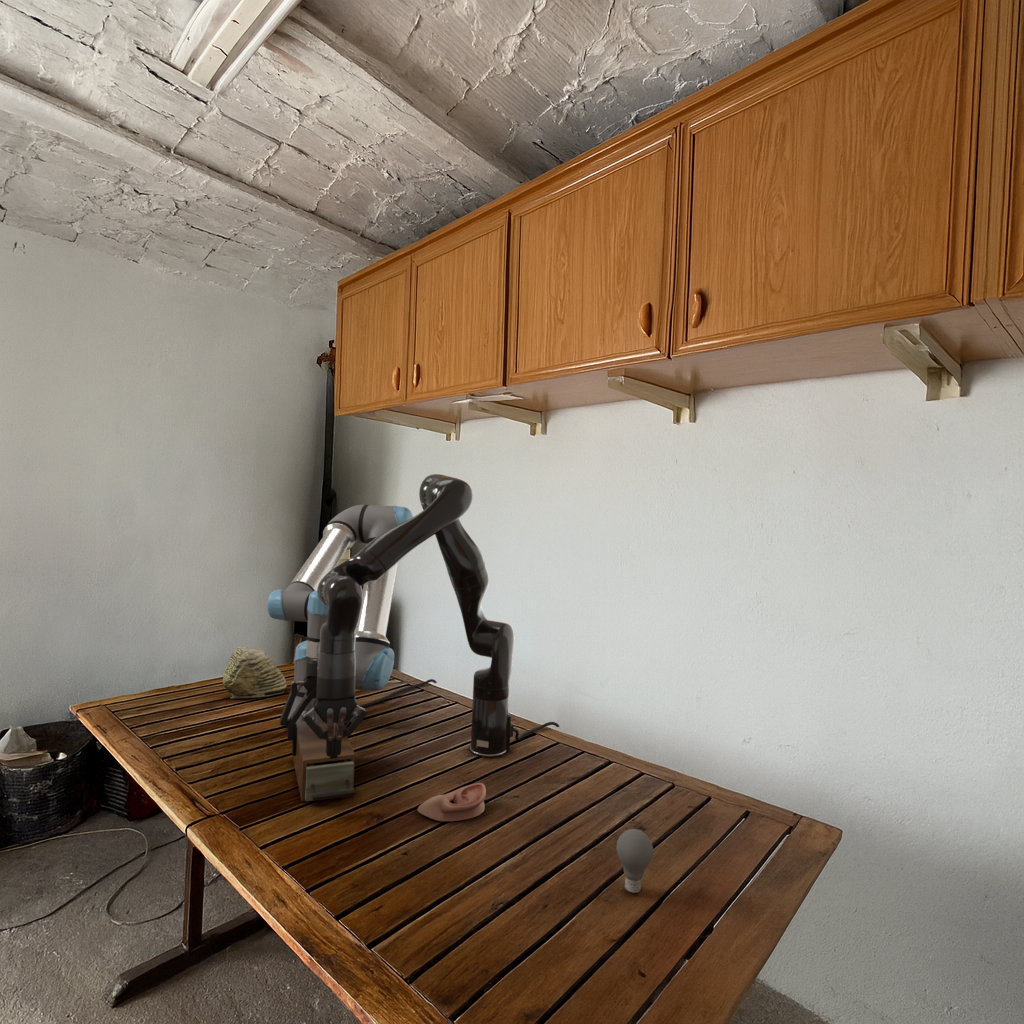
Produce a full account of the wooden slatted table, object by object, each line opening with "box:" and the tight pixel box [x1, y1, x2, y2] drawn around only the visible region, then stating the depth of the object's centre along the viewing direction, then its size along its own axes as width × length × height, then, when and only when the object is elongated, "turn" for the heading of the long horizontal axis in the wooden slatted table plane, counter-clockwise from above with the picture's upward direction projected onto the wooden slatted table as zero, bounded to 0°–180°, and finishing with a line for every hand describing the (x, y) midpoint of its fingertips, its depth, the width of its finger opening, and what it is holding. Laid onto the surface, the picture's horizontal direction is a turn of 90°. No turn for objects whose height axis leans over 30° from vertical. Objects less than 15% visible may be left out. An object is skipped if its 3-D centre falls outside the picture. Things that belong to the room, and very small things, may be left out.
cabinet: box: [293, 723, 356, 802], centre depth 143 cm, size 21×11×9 cm, turn 24°
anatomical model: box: [417, 782, 487, 822], centre depth 131 cm, size 13×4×12 cm
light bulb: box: [615, 828, 654, 894], centre depth 106 cm, size 6×6×10 cm
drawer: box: [305, 759, 355, 802], centre depth 138 cm, size 25×9×7 cm, turn 24°
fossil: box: [222, 646, 288, 699], centre depth 198 cm, size 9×18×15 cm, turn 132°
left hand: (319, 750), depth 148 cm, fingers closed on cabinet, 11 cm apart
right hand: (333, 757), depth 128 cm, fingers closed
